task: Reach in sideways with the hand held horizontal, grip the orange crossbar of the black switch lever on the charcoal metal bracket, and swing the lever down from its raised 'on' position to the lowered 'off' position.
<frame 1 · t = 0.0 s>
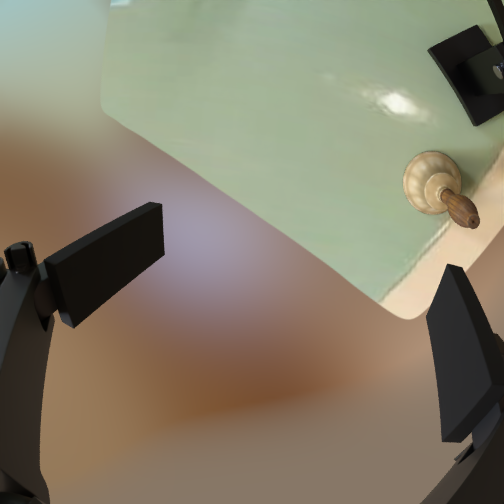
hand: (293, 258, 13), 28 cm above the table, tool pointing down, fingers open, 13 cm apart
hand bell: (432, 182, 33), on the table
switch lever: (498, 9, 11), point 15 cm above the table, hinge at 30.0°
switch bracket: (475, 74, 25), on the table
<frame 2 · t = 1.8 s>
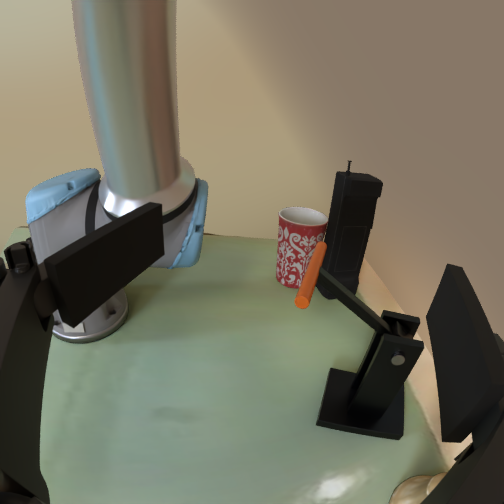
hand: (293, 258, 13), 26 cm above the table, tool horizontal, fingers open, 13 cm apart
switch lever: (361, 310, 28), point 15 cm above the table, hinge at 30.0°
mug: (299, 276, 62), on the table
portable radio: (336, 290, 58), on the table
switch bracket: (362, 406, 34), on the table
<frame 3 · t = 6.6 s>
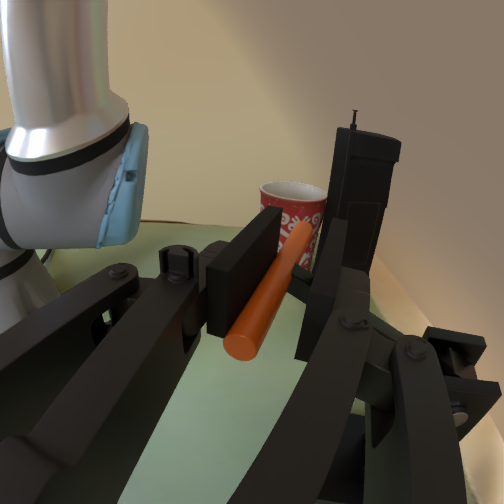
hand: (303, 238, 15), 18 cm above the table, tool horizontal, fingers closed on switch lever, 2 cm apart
switch lever: (385, 338, 14), point 14 cm above the table, hinge at 23.2°, touching gripper
mug: (290, 274, 47), on the table
portable radio: (338, 291, 44), on the table
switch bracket: (378, 466, 19), on the table
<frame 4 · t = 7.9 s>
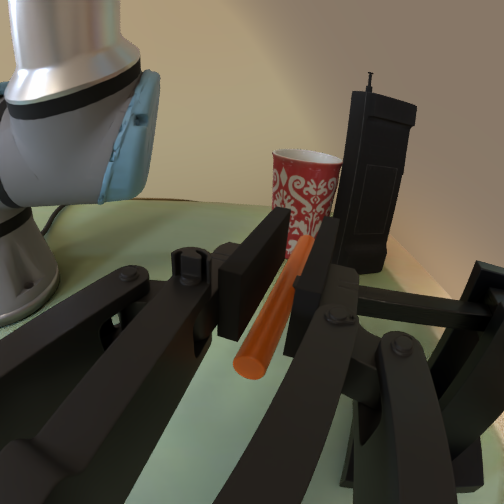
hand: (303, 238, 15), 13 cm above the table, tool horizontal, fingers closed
switch lever: (415, 308, 13), point 12 cm above the table, hinge at -4.3°, touching gripper
mug: (302, 247, 45), on the table
portable radio: (354, 264, 41), on the table
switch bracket: (416, 442, 17), on the table
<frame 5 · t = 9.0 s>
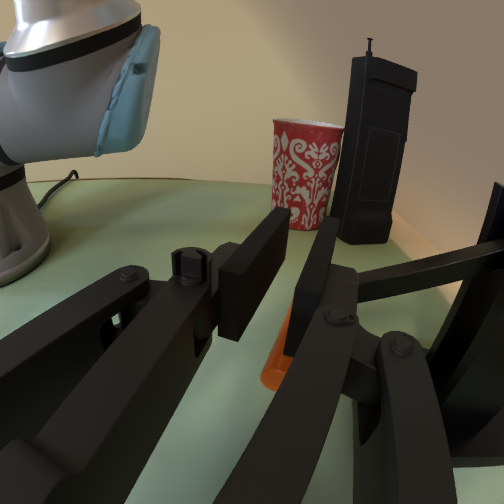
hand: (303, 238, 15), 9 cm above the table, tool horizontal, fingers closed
switch lever: (436, 270, 12), point 9 cm above the table, hinge at -27.5°
mug: (304, 219, 43), on the table
portable radio: (359, 235, 39), on the table
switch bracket: (441, 410, 15), on the table
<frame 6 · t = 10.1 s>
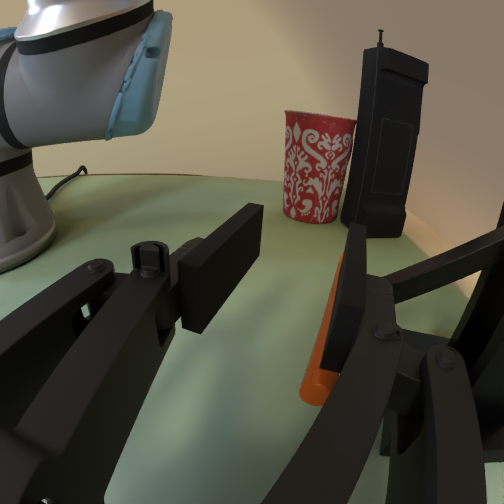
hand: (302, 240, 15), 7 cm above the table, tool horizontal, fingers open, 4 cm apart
switch lever: (466, 259, 11), point 9 cm above the table, hinge at -36.7°, touching gripper
mug: (317, 213, 42), on the table
portable radio: (372, 229, 38), on the table
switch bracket: (463, 402, 13), on the table
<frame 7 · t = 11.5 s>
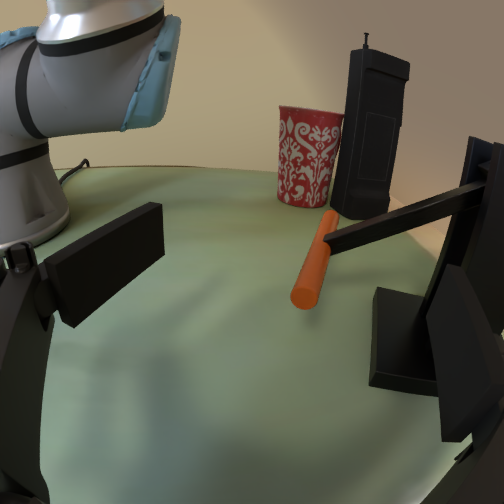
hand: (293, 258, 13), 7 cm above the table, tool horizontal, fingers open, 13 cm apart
switch lever: (425, 211, 14), point 9 cm above the table, hinge at -32.5°
mug: (308, 199, 45), on the table
portable radio: (359, 213, 42), on the table
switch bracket: (441, 350, 17), on the table
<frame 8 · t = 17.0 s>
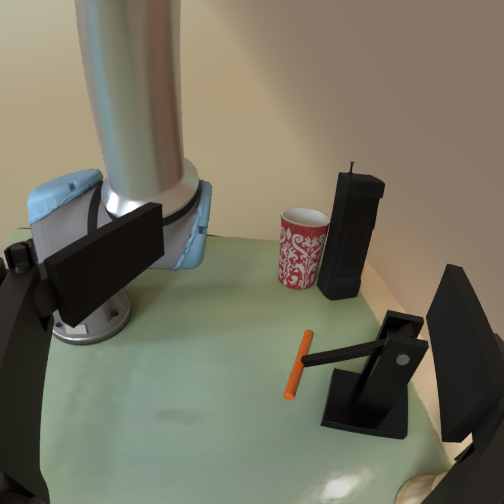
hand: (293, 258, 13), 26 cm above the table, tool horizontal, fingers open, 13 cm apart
switch lever: (352, 352, 31), point 9 cm above the table, hinge at -32.5°
mug: (301, 277, 62), on the table
portable radio: (338, 290, 58), on the table
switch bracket: (366, 406, 34), on the table
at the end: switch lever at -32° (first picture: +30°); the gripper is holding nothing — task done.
